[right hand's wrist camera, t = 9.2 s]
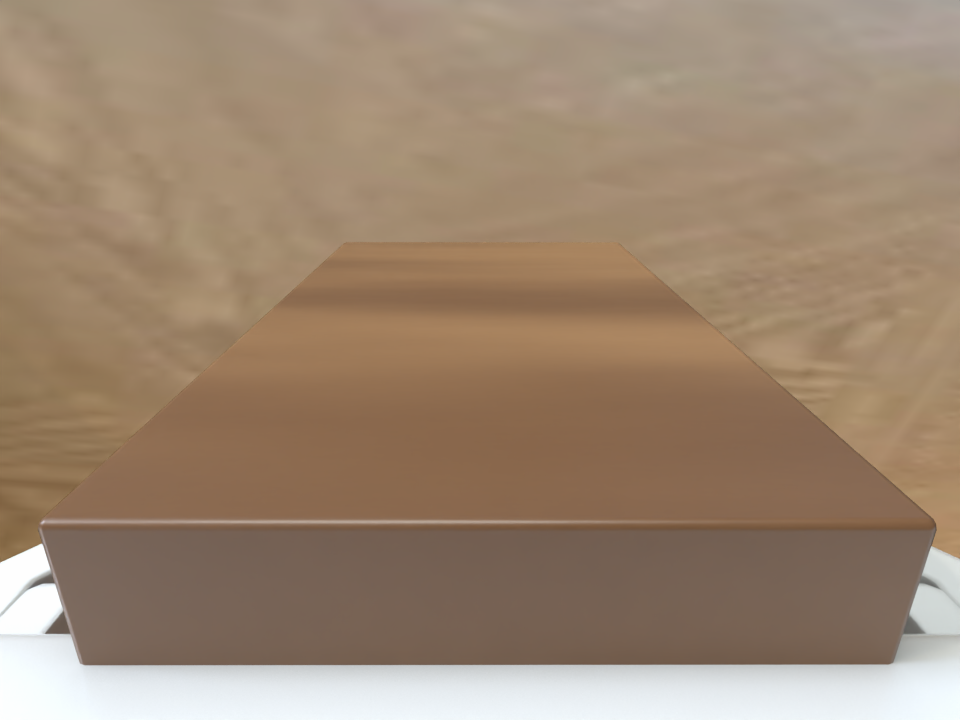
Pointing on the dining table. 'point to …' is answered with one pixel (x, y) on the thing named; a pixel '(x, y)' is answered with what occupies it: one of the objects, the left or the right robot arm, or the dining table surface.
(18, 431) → the dining table surface
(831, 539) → the box
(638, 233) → the dining table surface
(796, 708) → the right robot arm
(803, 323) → the dining table surface
